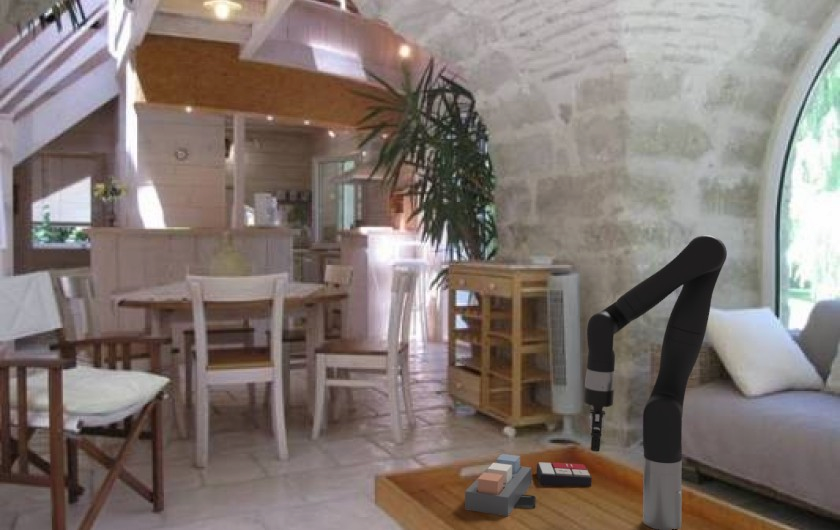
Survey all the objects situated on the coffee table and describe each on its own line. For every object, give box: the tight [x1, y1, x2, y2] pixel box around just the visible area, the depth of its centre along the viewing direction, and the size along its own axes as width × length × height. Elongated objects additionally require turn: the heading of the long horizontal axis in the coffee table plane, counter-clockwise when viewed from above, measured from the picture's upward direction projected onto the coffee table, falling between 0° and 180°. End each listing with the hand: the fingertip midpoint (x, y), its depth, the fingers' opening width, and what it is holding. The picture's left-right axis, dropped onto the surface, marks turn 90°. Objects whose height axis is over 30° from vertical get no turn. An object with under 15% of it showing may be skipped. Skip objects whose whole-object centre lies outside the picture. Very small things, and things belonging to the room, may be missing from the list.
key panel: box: [464, 462, 533, 517], centre depth 202 cm, size 12×26×5 cm, turn 157°
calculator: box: [536, 461, 593, 487], centre depth 216 cm, size 11×4×15 cm
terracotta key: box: [477, 471, 503, 495], centre depth 194 cm, size 6×6×4 cm
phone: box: [514, 494, 537, 509], centre depth 198 cm, size 8×1×15 cm
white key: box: [487, 462, 512, 484], centre depth 202 cm, size 6×6×4 cm
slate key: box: [496, 453, 521, 474], centre depth 210 cm, size 6×6×4 cm
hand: (595, 446), depth 190 cm, fingers open, 8 cm apart
